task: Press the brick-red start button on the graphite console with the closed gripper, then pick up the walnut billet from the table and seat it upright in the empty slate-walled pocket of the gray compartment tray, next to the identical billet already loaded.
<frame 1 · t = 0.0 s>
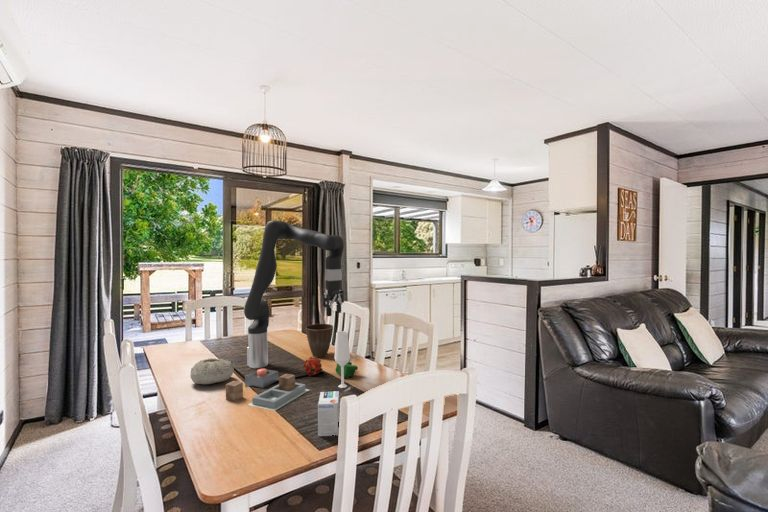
hand: (334, 314, 181), 29 cm above the table, tool pointing down, fingers open, 8 cm apart
gray compartment tray: (280, 399, 157), on the table
light bulb box: (329, 429, 133), on the table
champagne flute: (342, 388, 169), on the table
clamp: (347, 375, 186), on the table
walnut billet: (234, 400, 157), on the table
dragon fruit: (313, 374, 187), on the table
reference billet: (287, 392, 161), point 1 cm above the table, touching gray compartment tray
decorative shell: (212, 382, 178), on the table
plant pot: (319, 355, 217), on the table
start button: (261, 374, 174), point 5 cm above the table, slide at 0.0 cm
start console: (262, 384, 174), on the table
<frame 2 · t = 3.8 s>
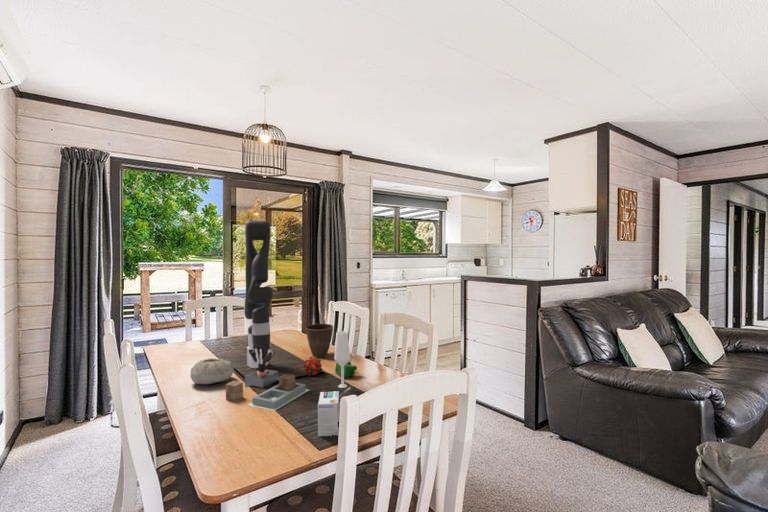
hand: (262, 371, 173), 6 cm above the table, tool pointing down, fingers closed
start button: (261, 376, 174), point 4 cm above the table, slide at 0.7 cm, touching gripper
everything else where it was.
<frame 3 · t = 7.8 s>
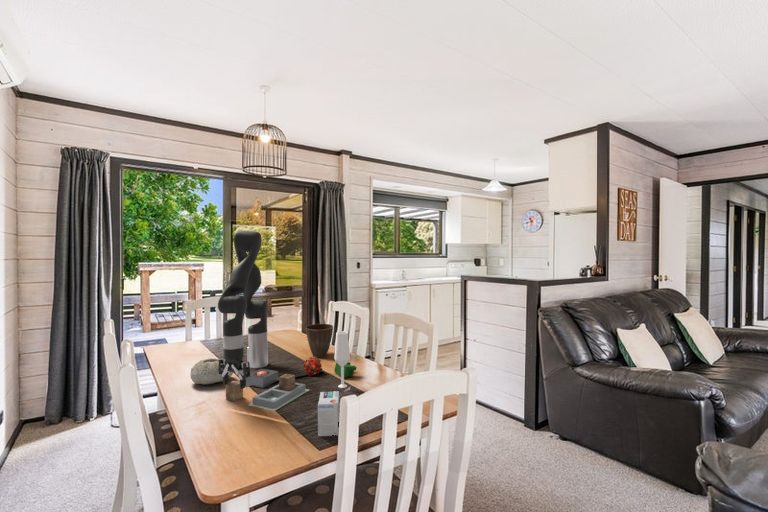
hand: (234, 386, 156), 6 cm above the table, tool pointing down, fingers open, 8 cm apart
start button: (261, 377, 174), point 3 cm above the table, slide at 1.1 cm
everything else where it was.
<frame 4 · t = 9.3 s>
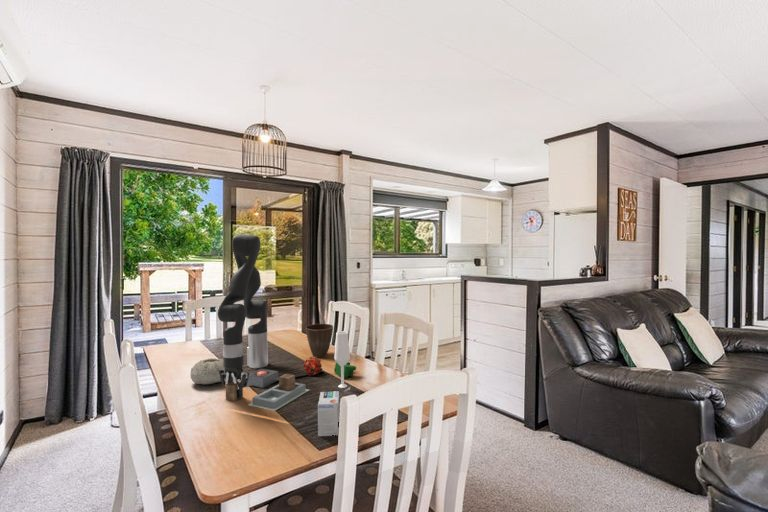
hand: (234, 396, 157), 2 cm above the table, tool pointing down, fingers closed on walnut billet, 4 cm apart
walnut billet: (234, 400, 157), on the table, touching gripper
everything else where it was.
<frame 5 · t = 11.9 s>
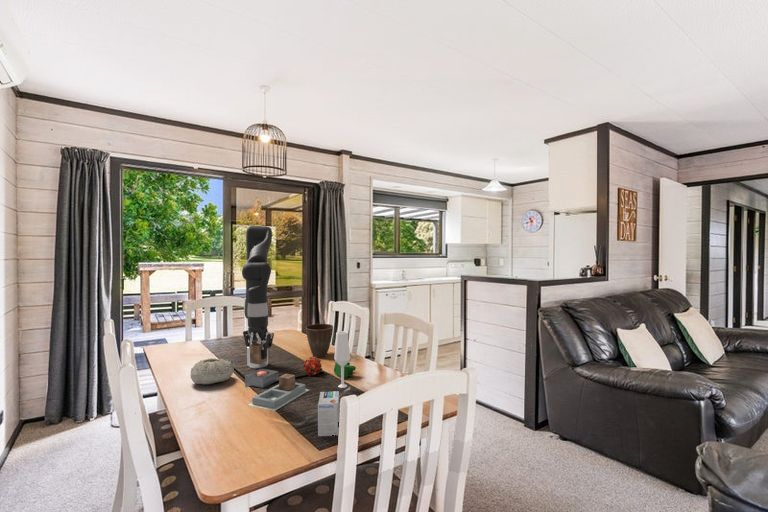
hand: (258, 358, 153), 18 cm above the table, tool pointing down, fingers closed on walnut billet, 4 cm apart
walnut billet: (258, 362, 153), point 16 cm above the table, touching gripper
everything else where it was.
when the fingers open (4 cm above the table, at t = 14.4 s): walnut billet drops 2 cm, resting on gray compartment tray.
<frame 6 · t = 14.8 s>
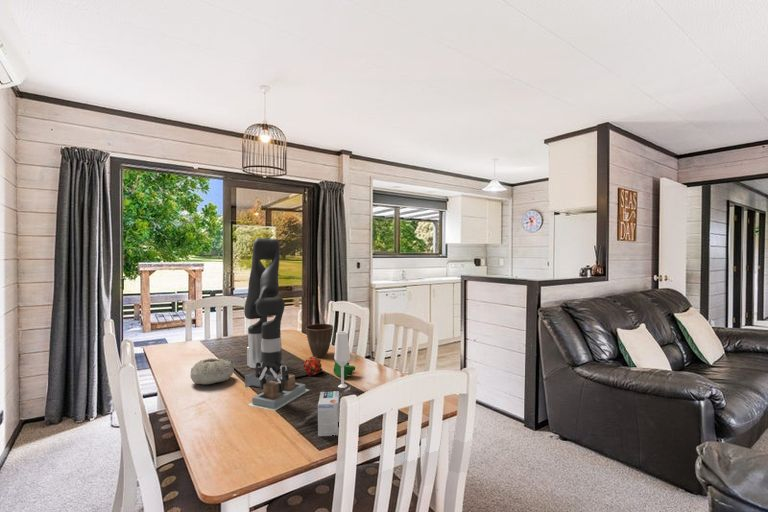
hand: (272, 390, 153), 5 cm above the table, tool pointing down, fingers open, 8 cm apart
walnut billet: (272, 401, 153), point 1 cm above the table, touching gray compartment tray
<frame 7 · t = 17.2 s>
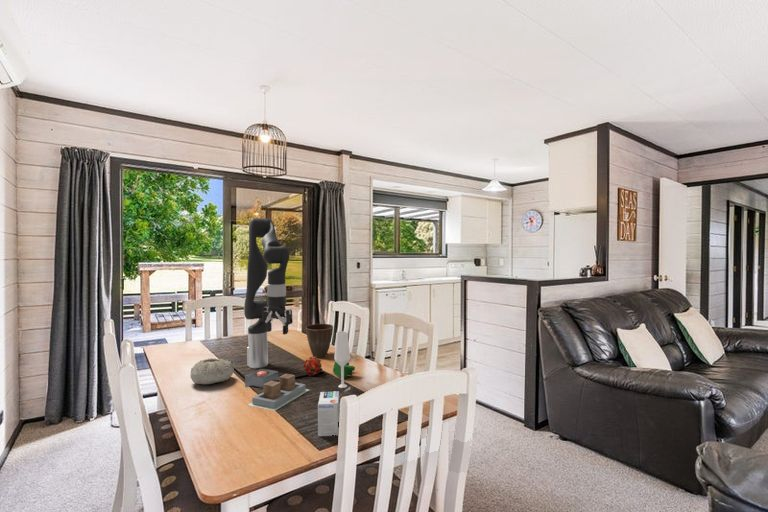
hand: (277, 332, 166), 25 cm above the table, tool pointing down, fingers open, 8 cm apart
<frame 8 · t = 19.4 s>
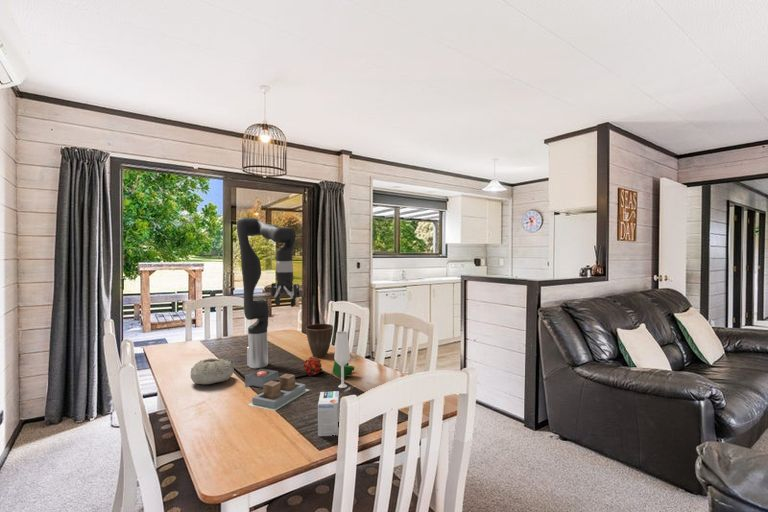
hand: (285, 306, 182), 33 cm above the table, tool pointing down, fingers open, 8 cm apart
at the end: start button slide at 1.1 cm; walnut billet 0.1 cm from the target spot on the gray compartment tray, point 1.0 cm above the gray compartment tray's base; walnut billet tilted 0° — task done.
